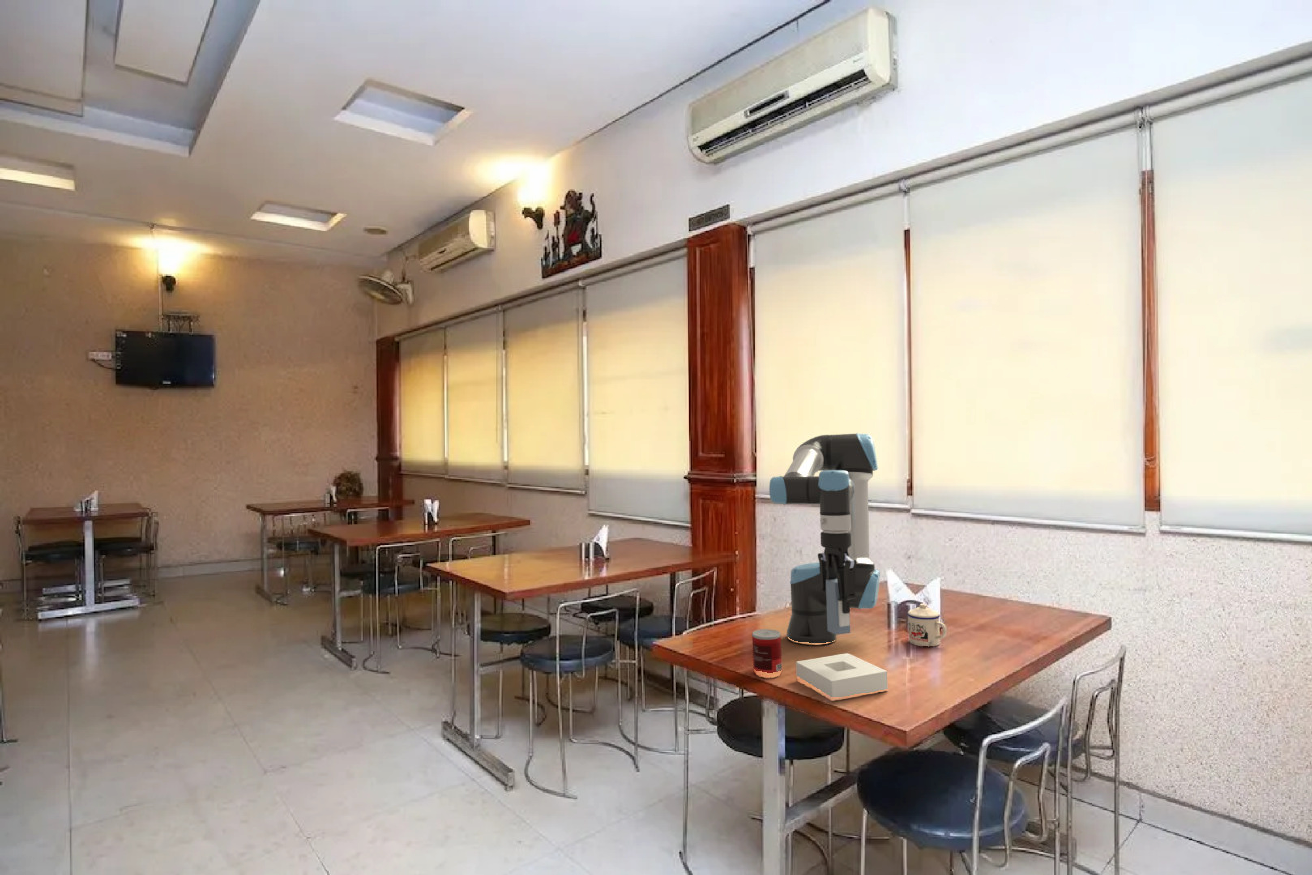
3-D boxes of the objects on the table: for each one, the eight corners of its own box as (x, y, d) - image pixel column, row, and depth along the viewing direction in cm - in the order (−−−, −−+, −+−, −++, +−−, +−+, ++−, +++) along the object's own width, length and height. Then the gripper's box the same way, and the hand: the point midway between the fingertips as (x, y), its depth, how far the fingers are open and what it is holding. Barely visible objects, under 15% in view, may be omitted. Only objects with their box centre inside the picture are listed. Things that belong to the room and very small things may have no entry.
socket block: (796, 680, 179) (796, 661, 179) (848, 671, 185) (847, 653, 185) (832, 701, 164) (832, 681, 164) (887, 691, 170) (887, 671, 170)
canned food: (778, 668, 190) (777, 628, 190) (785, 678, 182) (783, 636, 182) (751, 669, 189) (749, 629, 189) (756, 679, 181) (754, 637, 181)
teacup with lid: (902, 642, 209) (900, 603, 209) (920, 636, 214) (919, 599, 214) (937, 651, 199) (936, 611, 199) (955, 645, 204) (954, 606, 204)
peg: (827, 630, 176) (825, 579, 176) (840, 628, 177) (839, 578, 177) (836, 634, 172) (835, 582, 172) (850, 632, 173) (848, 581, 173)
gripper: (804, 528, 181) (807, 617, 181) (843, 536, 165) (846, 633, 165) (828, 526, 184) (831, 614, 184) (869, 533, 168) (872, 629, 168)
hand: (838, 623), depth 175 cm, fingers closed on peg, 4 cm apart
